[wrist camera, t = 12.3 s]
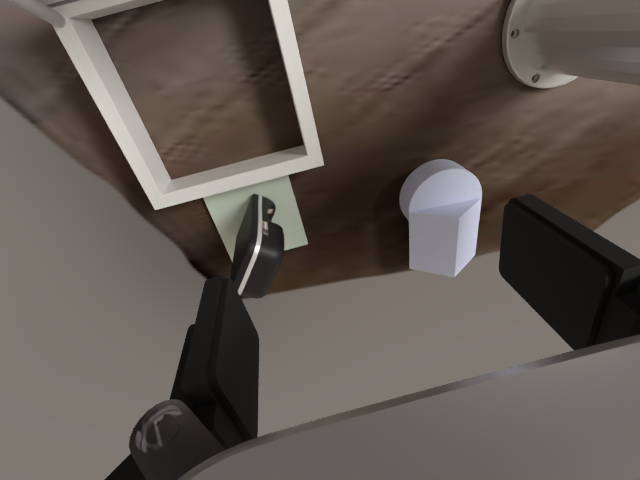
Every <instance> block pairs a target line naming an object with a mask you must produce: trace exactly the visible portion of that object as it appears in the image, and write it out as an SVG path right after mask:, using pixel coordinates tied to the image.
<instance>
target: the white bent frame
mask: <svg viewBox="0 0 640 480" xmlns="http://www.w3.org/2000/svg"><path fill="white" fill-rule="evenodd" d="M8 1H9V2H11V3H13V4H15V5H17V6H19V7H20V8H22V9H24V10H26V11H28V12H30V13H32V14H33V15H35V16H37V17H39V18H41V19H43V20H44V21H46V22H48V23H50V24H52V26H53V28H54V29H55V31H56V33H57V35H58V37H59V38H60V40H61V42H62V44H63V46H64V47H65V49H66V51H67V53H68V55H69V56H70V58H71V60H72V62H73V64H74V65H75V67H76V69H77V71H78V73H79V74H80V76H81V78H82V80H83V82H84V83H85V85H86V87H87V89H88V91H89V92H90V94H91V96H92V98H93V99H94V101H95V103H96V105H97V107H98V108H99V110H100V112H101V114H102V116H103V117H104V119H105V121H106V123H107V125H108V126H109V128H110V130H111V132H112V134H113V135H114V137H115V139H116V141H117V143H118V144H119V146H120V148H121V150H122V152H123V153H124V155H125V157H126V159H127V161H128V162H129V164H130V166H131V168H132V170H133V171H134V173H135V175H136V177H137V179H138V180H139V182H140V184H141V186H142V188H143V189H144V191H145V193H146V195H147V197H148V198H149V200H150V202H151V204H152V206H153V207H154V209H155V210H158V209H162V208H165V207H169V206H173V205H177V204H180V203H184V202H188V201H192V200H195V199H199V198H203V197H207V196H210V195H214V194H218V193H222V192H225V191H229V190H233V189H237V188H240V187H244V186H248V185H252V184H255V183H259V182H263V181H267V180H270V179H274V178H278V177H282V176H285V175H289V174H293V173H297V172H301V171H304V170H308V169H312V168H316V167H319V166H323V165H324V162H323V158H322V153H321V149H320V144H319V140H318V135H317V131H316V126H315V122H314V117H313V113H312V108H311V104H310V100H309V95H308V91H307V86H306V82H305V77H304V73H303V68H302V64H301V59H300V55H299V51H298V46H297V42H296V37H295V33H294V28H293V24H292V19H291V15H290V10H289V6H288V1H287V0H268V3H269V7H270V11H271V15H272V19H273V23H274V27H275V31H276V35H277V39H278V43H279V47H280V51H281V55H282V59H283V63H284V67H285V71H286V75H287V79H288V83H289V87H290V91H291V95H292V99H293V103H294V107H295V111H296V115H297V119H298V123H299V127H300V131H301V135H302V139H303V143H304V145H301V146H297V147H293V148H290V149H286V150H282V151H278V152H275V153H271V154H267V155H263V156H260V157H256V158H252V159H248V160H245V161H241V162H237V163H233V164H230V165H226V166H222V167H218V168H215V169H211V170H207V171H203V172H199V173H196V174H192V175H188V176H184V177H181V178H177V179H173V180H171V179H170V177H169V175H168V173H167V171H166V169H165V167H164V165H163V163H162V161H161V159H160V157H159V155H158V153H157V151H156V149H155V147H154V145H153V143H152V141H151V139H150V137H149V135H148V133H147V130H146V128H145V126H144V124H143V122H142V120H141V118H140V116H139V114H138V112H137V110H136V108H135V106H134V104H133V102H132V100H131V98H130V96H129V94H128V92H127V90H126V88H125V86H124V84H123V82H122V80H121V78H120V76H119V74H118V72H117V70H116V68H115V66H114V64H113V62H112V60H111V58H110V56H109V54H108V52H107V50H106V48H105V46H104V44H103V42H102V40H101V38H100V36H99V34H98V32H97V30H96V28H95V26H94V24H93V22H92V19H95V18H99V17H103V16H107V15H110V14H114V13H118V12H122V11H125V10H129V9H133V8H137V7H141V6H144V5H148V4H152V3H156V2H159V1H163V0H8Z"/></svg>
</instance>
